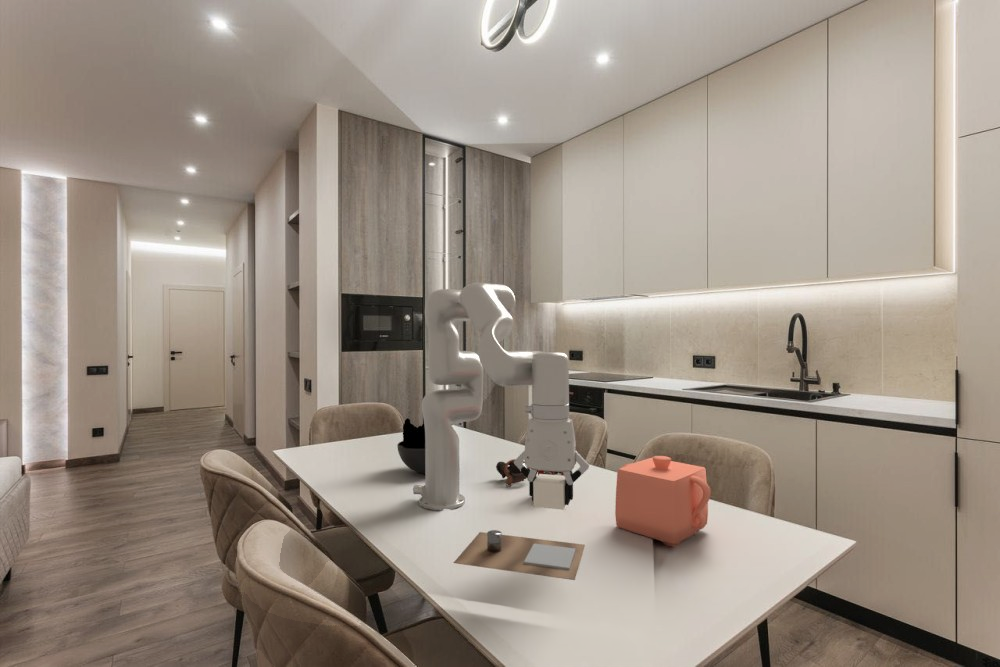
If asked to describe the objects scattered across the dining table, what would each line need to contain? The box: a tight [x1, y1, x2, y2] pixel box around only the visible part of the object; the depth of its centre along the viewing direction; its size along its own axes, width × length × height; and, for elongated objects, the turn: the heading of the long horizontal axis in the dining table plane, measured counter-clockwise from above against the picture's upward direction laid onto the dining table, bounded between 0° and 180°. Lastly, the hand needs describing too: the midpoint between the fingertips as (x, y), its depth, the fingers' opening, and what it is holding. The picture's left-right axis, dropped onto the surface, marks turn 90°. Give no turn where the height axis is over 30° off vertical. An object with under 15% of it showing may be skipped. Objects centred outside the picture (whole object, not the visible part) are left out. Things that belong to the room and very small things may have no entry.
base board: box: [453, 531, 586, 581], centre depth 100 cm, size 24×16×2 cm, turn 73°
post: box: [486, 529, 503, 553], centre depth 102 cm, size 3×3×4 cm
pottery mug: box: [495, 458, 527, 486], centre depth 156 cm, size 12×10×8 cm
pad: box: [524, 544, 576, 570], centre depth 99 cm, size 9×9×1 cm
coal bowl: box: [396, 417, 425, 474], centre depth 168 cm, size 20×20×19 cm
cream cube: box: [532, 474, 567, 510], centre depth 99 cm, size 6×6×5 cm
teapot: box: [614, 455, 712, 547], centre depth 118 cm, size 25×23×18 cm
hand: (551, 500), depth 99 cm, fingers closed on cream cube, 6 cm apart
